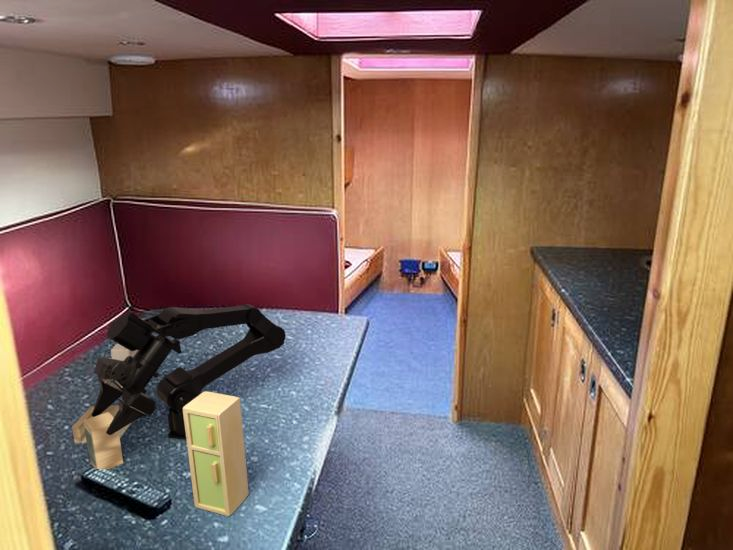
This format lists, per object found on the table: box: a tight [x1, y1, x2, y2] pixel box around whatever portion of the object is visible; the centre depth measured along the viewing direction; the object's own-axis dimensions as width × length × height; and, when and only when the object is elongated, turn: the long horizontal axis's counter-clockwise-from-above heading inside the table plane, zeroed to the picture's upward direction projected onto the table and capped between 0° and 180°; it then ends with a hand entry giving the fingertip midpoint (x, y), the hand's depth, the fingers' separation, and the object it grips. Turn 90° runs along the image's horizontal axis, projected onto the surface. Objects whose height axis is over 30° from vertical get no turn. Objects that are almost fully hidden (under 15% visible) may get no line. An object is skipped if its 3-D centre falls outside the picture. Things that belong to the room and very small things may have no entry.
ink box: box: [110, 343, 138, 389], centre depth 150 cm, size 9×5×12 cm, turn 6°
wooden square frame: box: [71, 404, 132, 444], centre depth 128 cm, size 10×10×4 cm
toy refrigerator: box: [183, 390, 250, 517], centre depth 102 cm, size 8×7×21 cm
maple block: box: [84, 412, 124, 470], centre depth 116 cm, size 5×5×10 cm
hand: (100, 425), depth 115 cm, fingers open, 9 cm apart
